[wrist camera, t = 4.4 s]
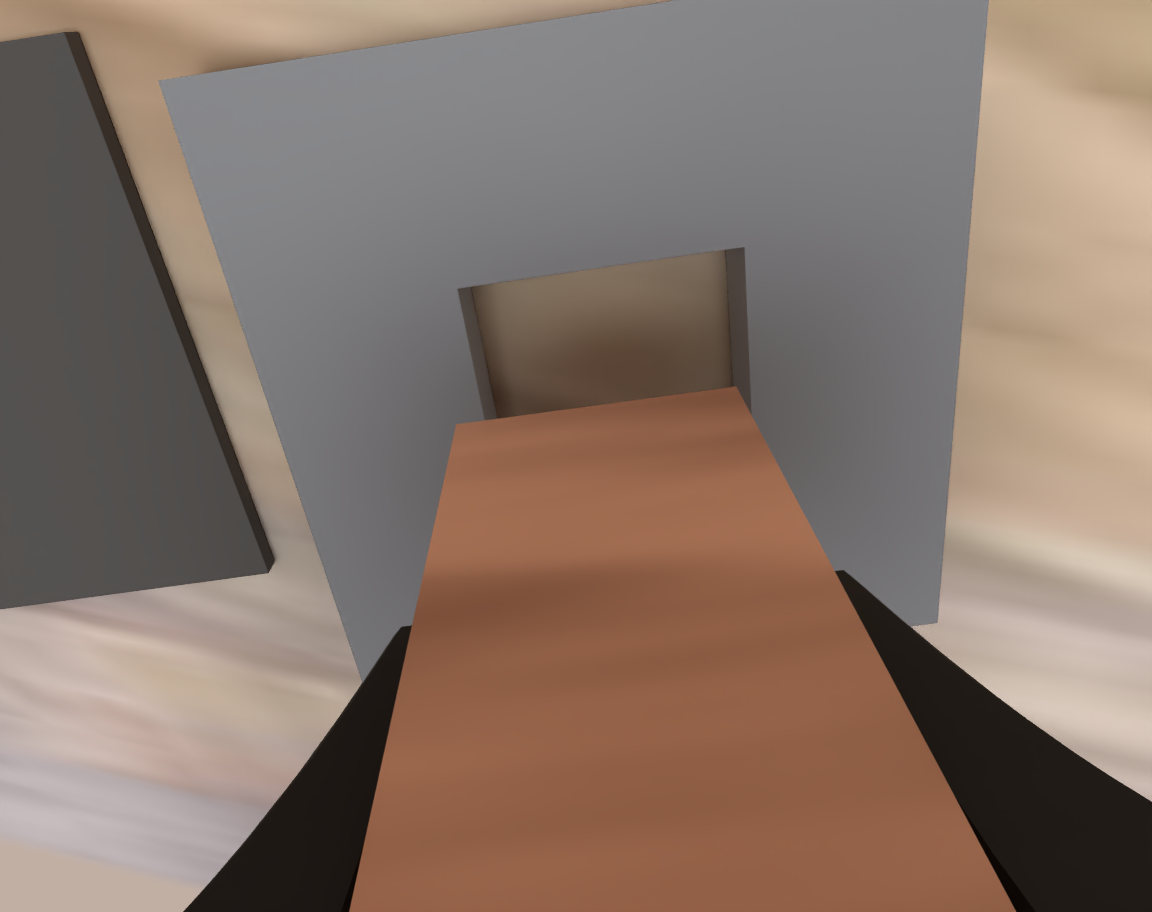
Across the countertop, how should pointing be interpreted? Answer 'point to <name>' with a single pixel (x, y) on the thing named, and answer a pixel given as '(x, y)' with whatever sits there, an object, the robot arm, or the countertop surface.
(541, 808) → the block
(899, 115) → the holder
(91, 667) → the countertop surface
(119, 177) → the mat
